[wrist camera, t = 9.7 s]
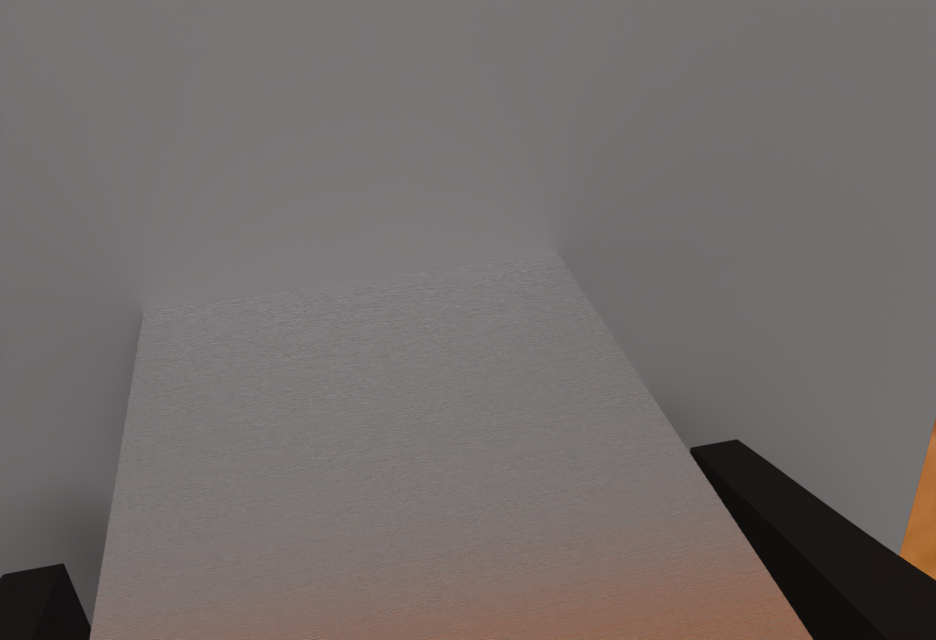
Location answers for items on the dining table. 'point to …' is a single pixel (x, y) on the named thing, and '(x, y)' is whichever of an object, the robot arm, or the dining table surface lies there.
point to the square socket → (414, 475)
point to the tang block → (478, 209)
